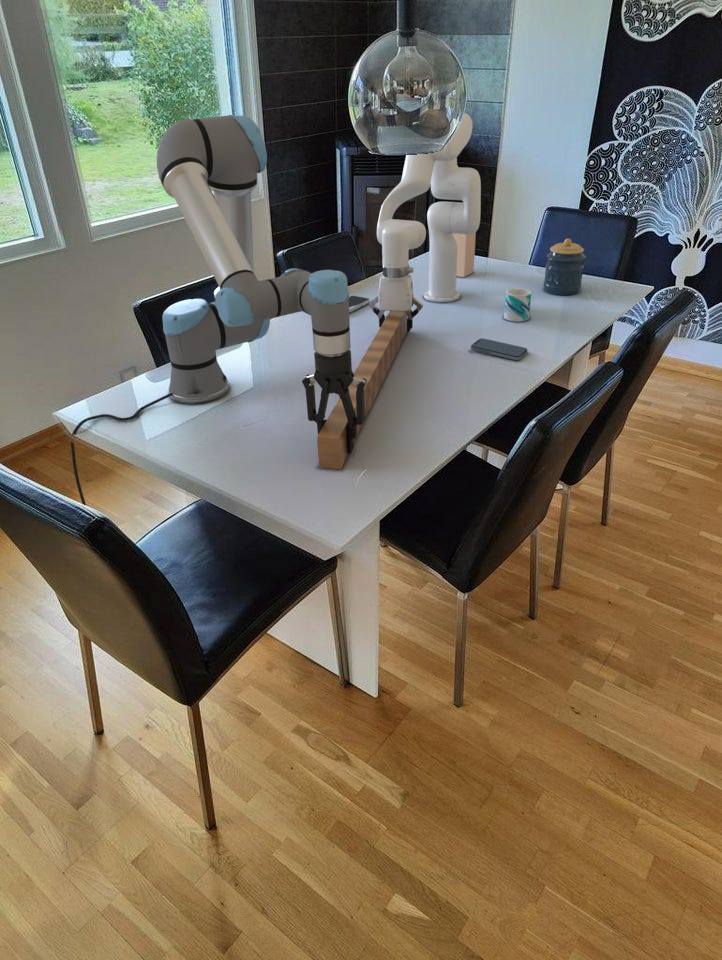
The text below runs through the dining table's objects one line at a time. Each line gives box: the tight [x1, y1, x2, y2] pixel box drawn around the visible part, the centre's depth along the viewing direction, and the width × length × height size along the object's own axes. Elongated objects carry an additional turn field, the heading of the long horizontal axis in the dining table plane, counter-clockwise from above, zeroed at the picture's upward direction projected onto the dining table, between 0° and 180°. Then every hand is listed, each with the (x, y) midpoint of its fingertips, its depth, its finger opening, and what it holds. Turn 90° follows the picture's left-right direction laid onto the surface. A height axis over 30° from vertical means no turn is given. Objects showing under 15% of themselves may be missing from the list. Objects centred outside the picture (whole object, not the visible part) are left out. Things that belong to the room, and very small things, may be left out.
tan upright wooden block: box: [452, 231, 477, 278], centre depth 256 cm, size 13×9×22 cm
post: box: [316, 311, 408, 470], centre depth 175 cm, size 84×5×8 cm, turn 167°
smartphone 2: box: [470, 337, 528, 361], centre depth 193 cm, size 8×2×15 cm
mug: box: [503, 287, 532, 323], centre depth 216 cm, size 8×12×8 cm
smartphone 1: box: [349, 295, 370, 314], centre depth 231 cm, size 8×1×15 cm
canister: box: [543, 238, 586, 296], centre depth 234 cm, size 13×13×18 cm
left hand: (338, 449), depth 149 cm, fingers closed on post, 5 cm apart
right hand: (395, 329), depth 204 cm, fingers open, 7 cm apart
